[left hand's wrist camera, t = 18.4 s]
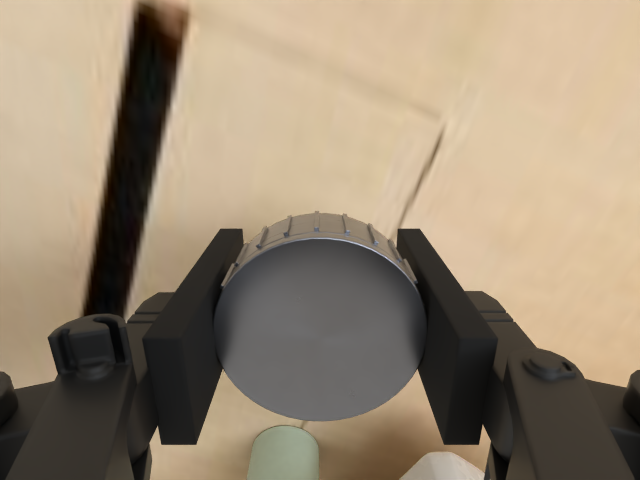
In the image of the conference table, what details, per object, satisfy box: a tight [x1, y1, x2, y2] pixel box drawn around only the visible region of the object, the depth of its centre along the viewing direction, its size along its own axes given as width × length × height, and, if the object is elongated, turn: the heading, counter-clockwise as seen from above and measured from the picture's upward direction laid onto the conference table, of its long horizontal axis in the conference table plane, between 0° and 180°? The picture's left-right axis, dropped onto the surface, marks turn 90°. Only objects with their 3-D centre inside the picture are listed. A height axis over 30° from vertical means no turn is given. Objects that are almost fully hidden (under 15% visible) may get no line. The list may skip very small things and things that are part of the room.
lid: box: [213, 211, 428, 421], centre depth 11 cm, size 6×6×2 cm
